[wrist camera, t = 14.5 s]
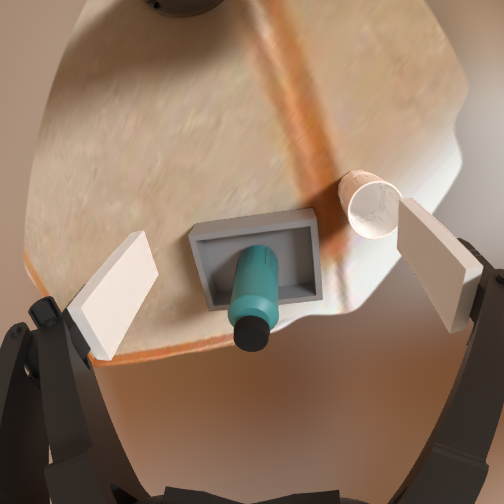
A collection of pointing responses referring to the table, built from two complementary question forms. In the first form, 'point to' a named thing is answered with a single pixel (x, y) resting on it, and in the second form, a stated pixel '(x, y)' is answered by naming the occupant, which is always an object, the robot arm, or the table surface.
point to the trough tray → (267, 234)
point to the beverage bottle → (254, 298)
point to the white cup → (369, 204)
